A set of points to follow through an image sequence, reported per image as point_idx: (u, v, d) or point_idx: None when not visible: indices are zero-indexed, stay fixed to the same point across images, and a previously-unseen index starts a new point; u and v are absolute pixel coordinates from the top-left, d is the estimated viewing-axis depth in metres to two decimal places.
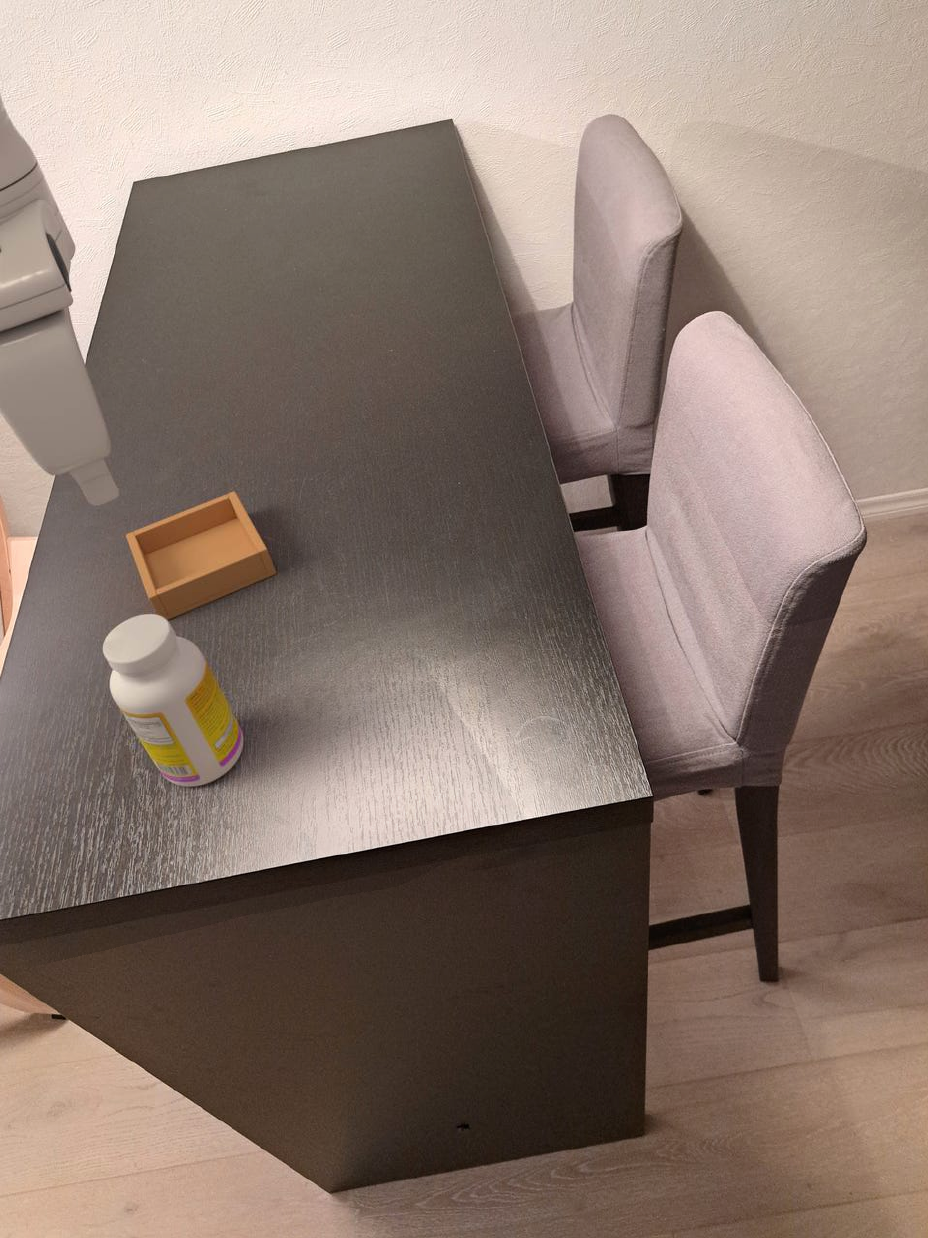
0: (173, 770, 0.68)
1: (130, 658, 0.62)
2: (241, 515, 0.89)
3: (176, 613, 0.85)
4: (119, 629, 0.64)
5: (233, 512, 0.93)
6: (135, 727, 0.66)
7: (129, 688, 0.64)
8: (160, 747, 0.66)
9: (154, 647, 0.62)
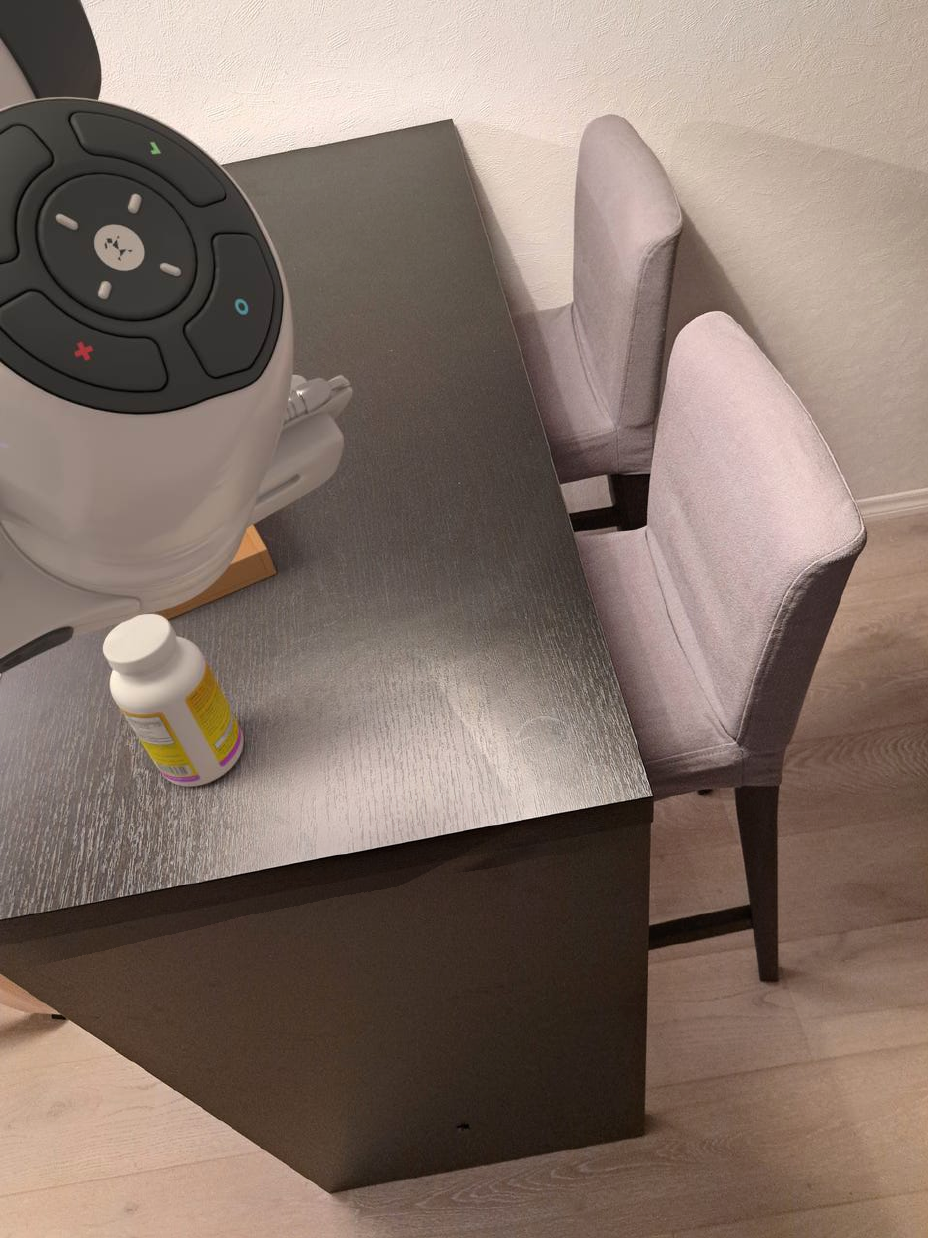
0: (173, 770, 0.68)
1: (130, 658, 0.62)
2: None
3: (176, 613, 0.85)
4: (119, 629, 0.64)
5: None
6: (135, 727, 0.66)
7: (129, 688, 0.64)
8: (160, 747, 0.66)
9: (154, 647, 0.62)
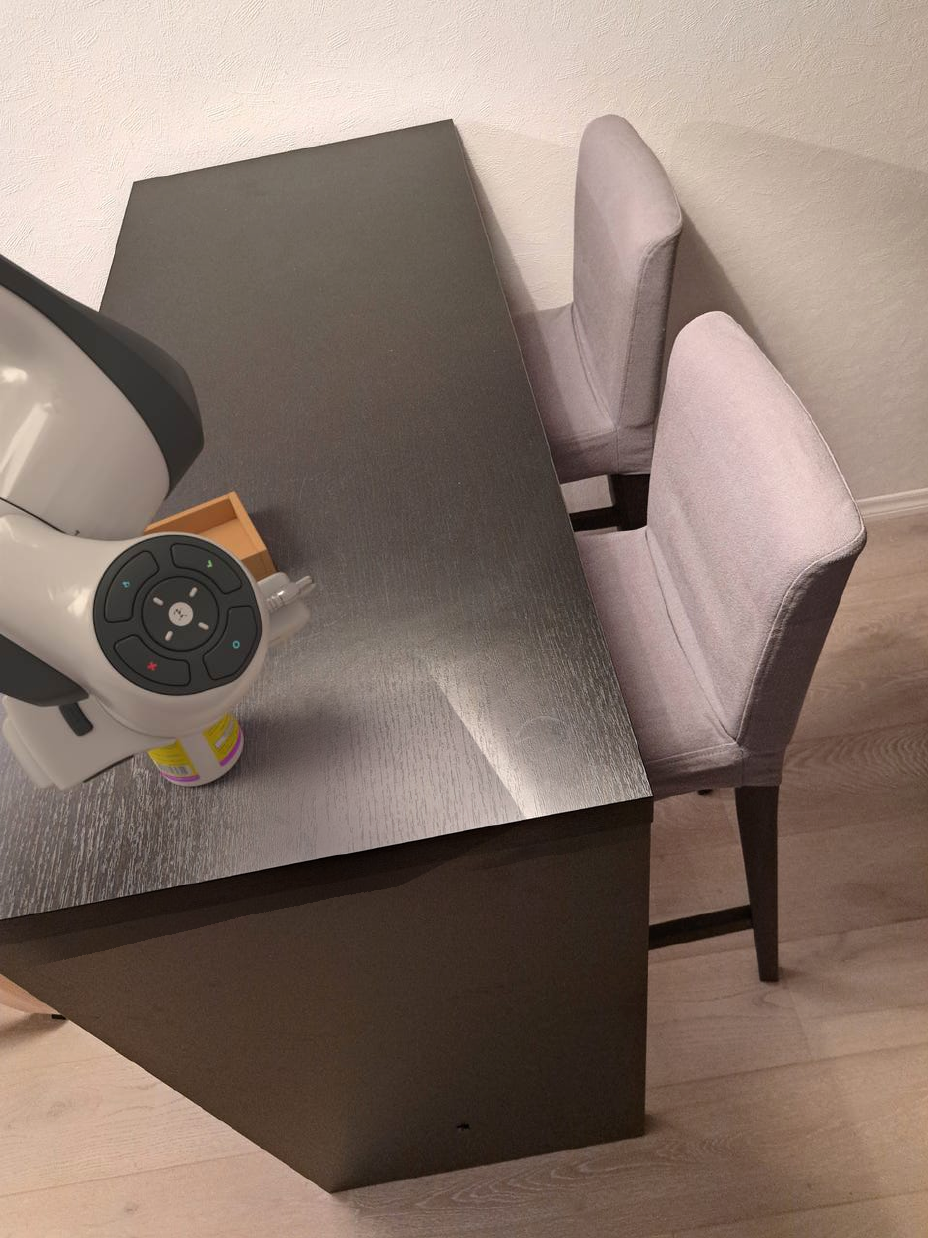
0: (173, 770, 0.68)
1: None
2: (241, 515, 0.89)
3: None
4: None
5: (233, 512, 0.93)
6: None
7: None
8: None
9: None
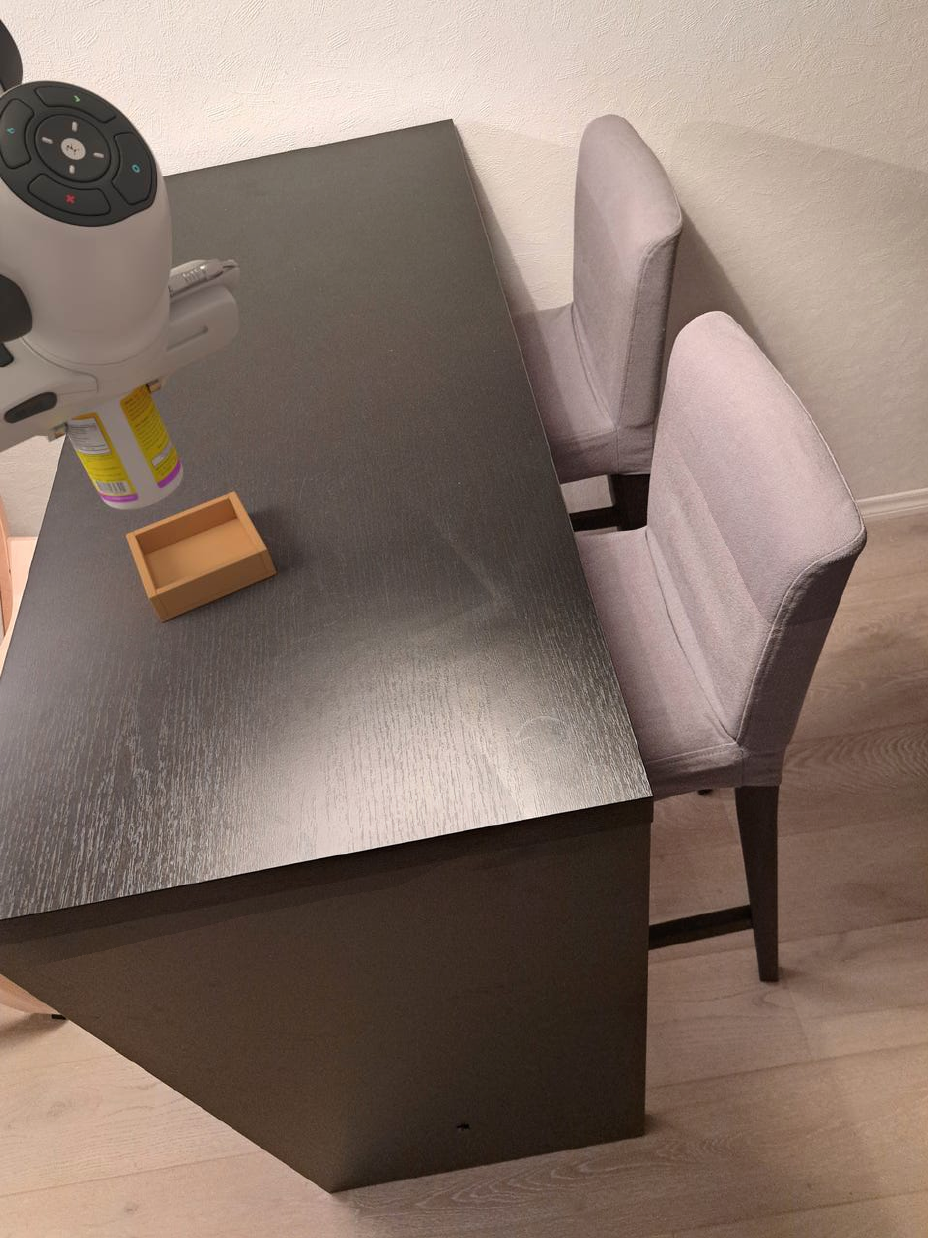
0: (111, 488, 0.70)
1: None
2: (241, 515, 0.89)
3: (176, 613, 0.85)
4: None
5: (233, 512, 0.93)
6: (72, 435, 0.68)
7: None
8: (97, 457, 0.68)
9: None
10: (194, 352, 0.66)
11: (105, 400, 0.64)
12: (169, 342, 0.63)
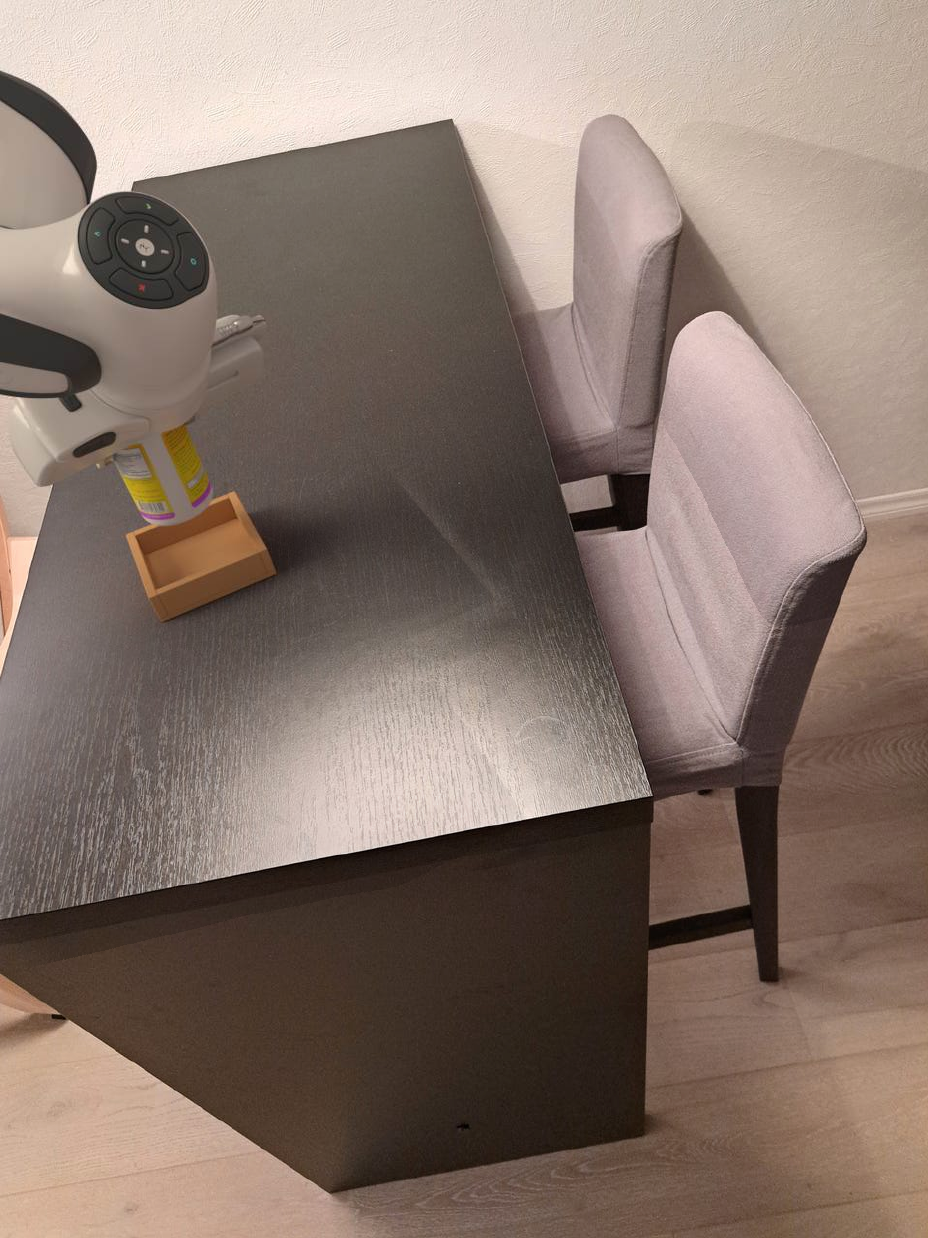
0: (152, 507, 0.81)
1: None
2: (241, 515, 0.89)
3: (176, 613, 0.85)
4: None
5: (233, 512, 0.93)
6: (119, 462, 0.78)
7: None
8: (141, 481, 0.79)
9: None
10: (226, 392, 0.76)
11: (150, 434, 0.75)
12: (206, 385, 0.73)
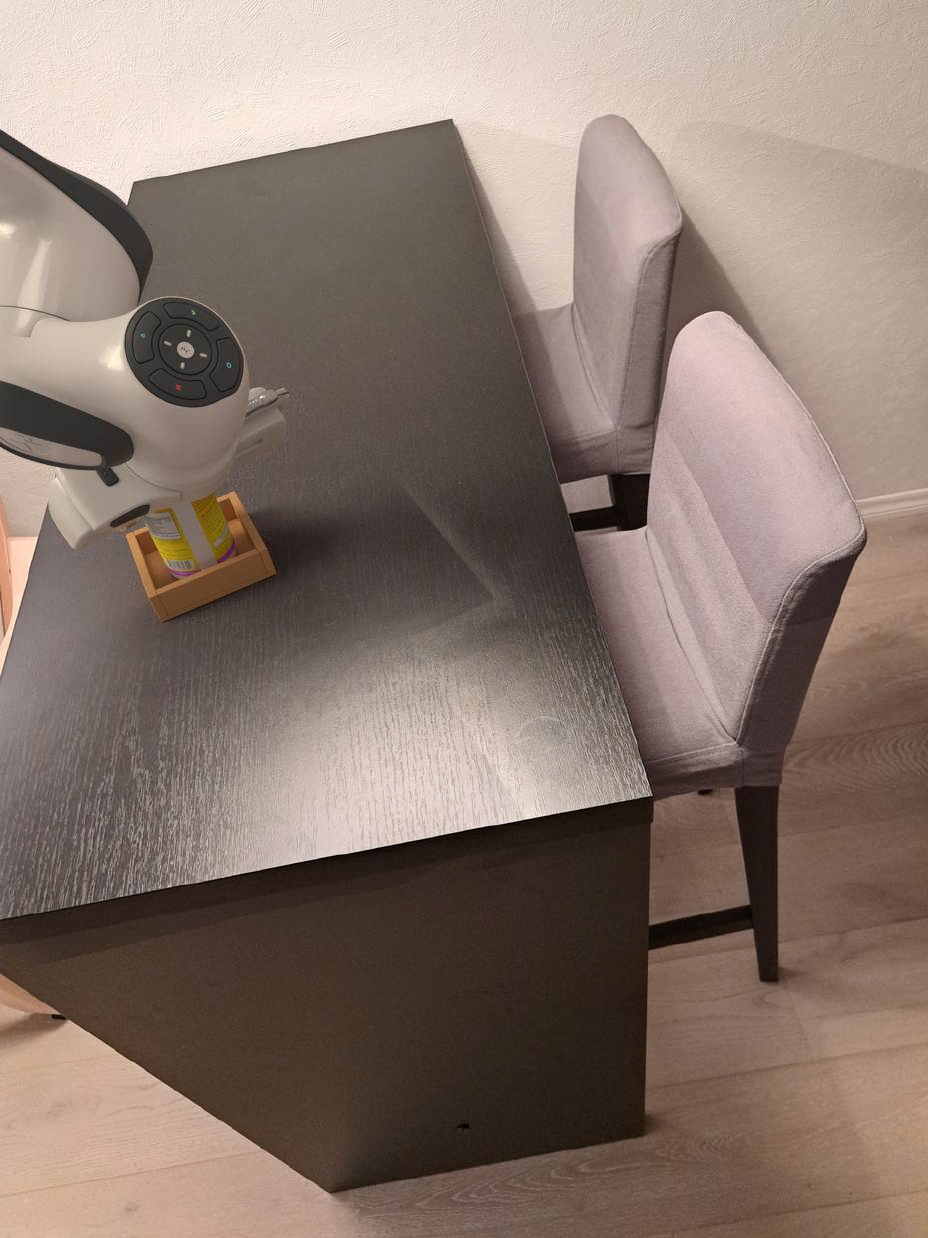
0: (180, 565, 0.85)
1: None
2: (241, 515, 0.89)
3: (176, 613, 0.85)
4: None
5: (233, 512, 0.93)
6: (150, 524, 0.83)
7: None
8: (170, 541, 0.83)
9: None
10: (250, 456, 0.81)
11: None
12: None
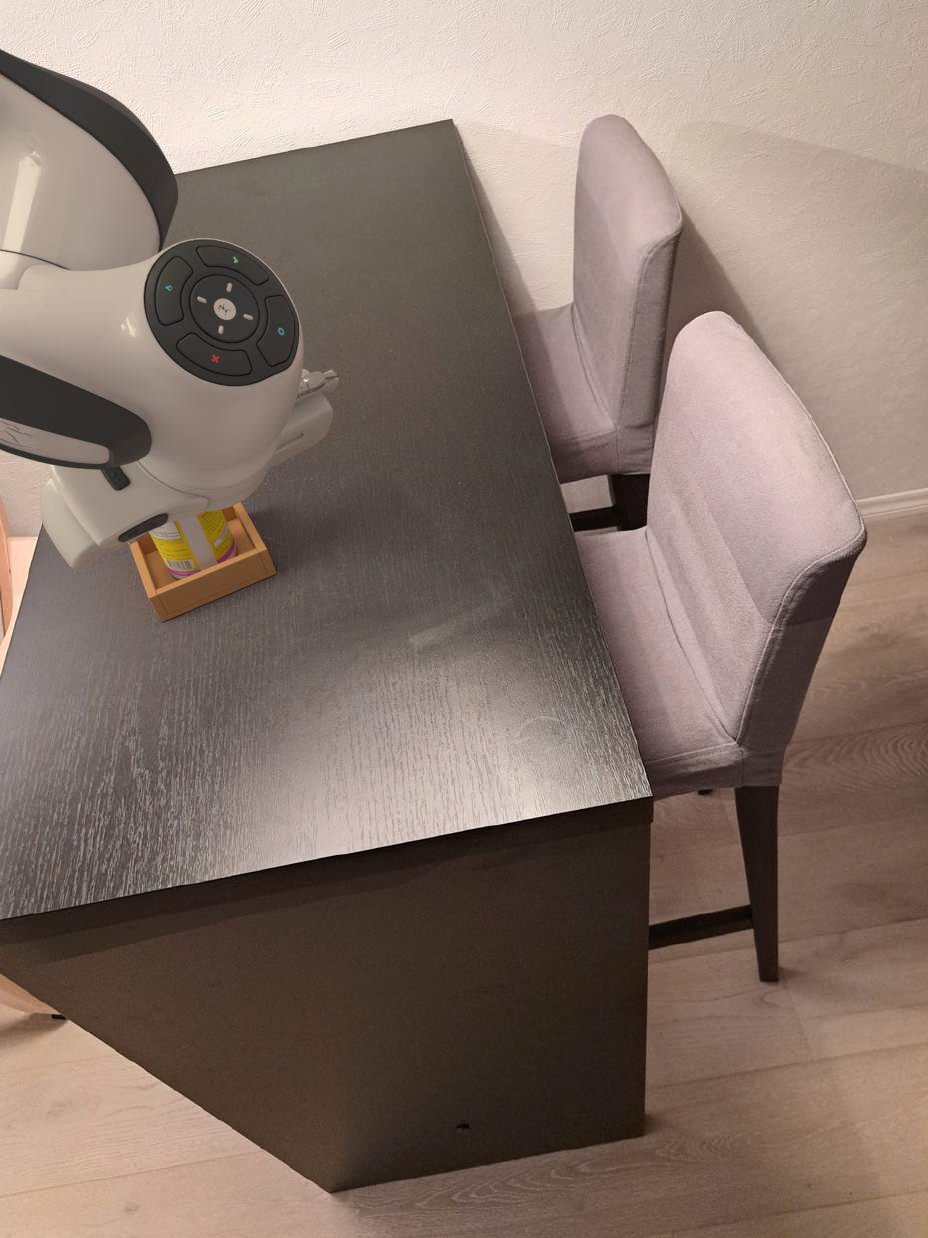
0: (180, 565, 0.85)
1: None
2: (241, 515, 0.89)
3: (176, 613, 0.85)
4: None
5: (233, 512, 0.93)
6: None
7: None
8: (170, 541, 0.83)
9: None
10: (287, 454, 0.66)
11: None
12: None
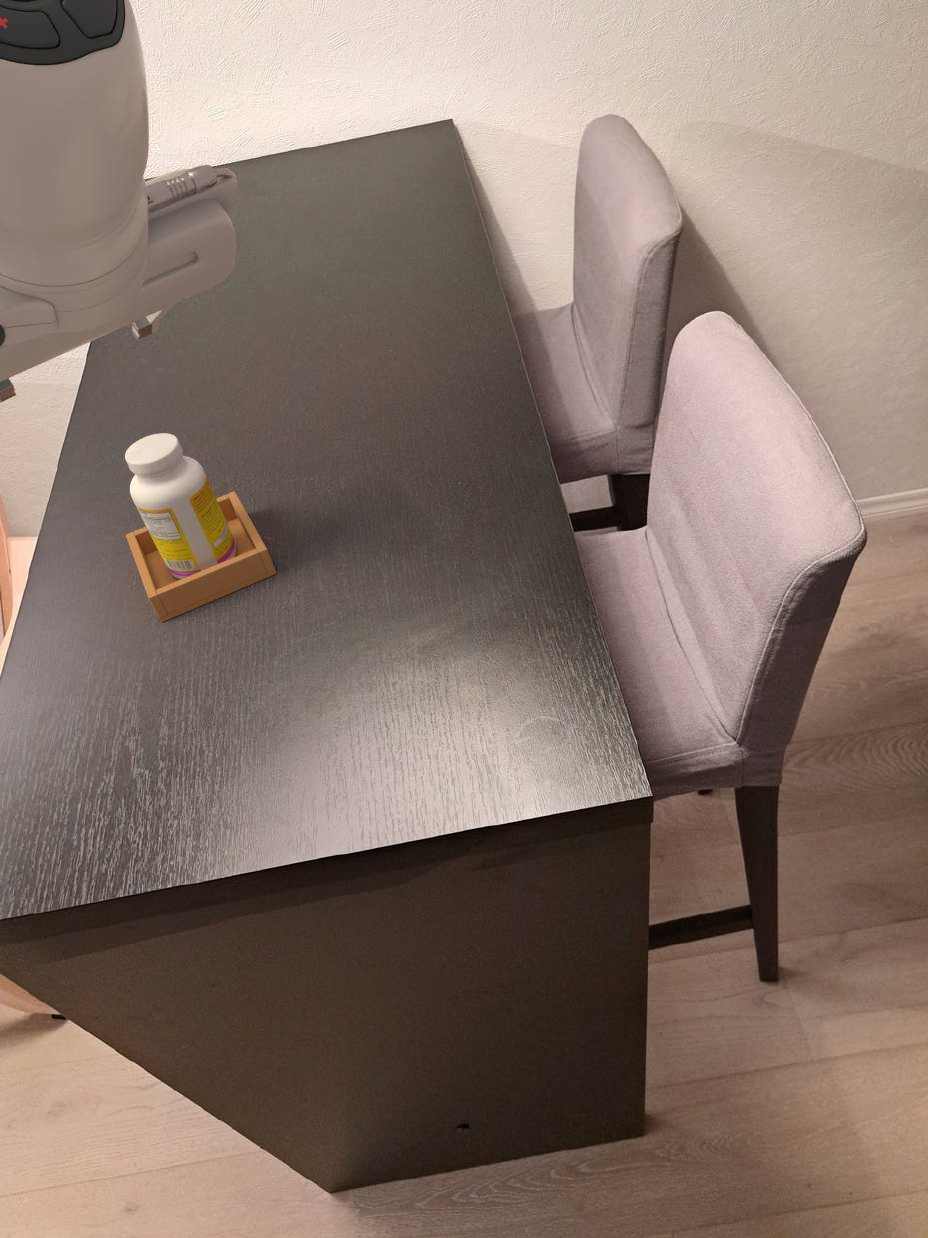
0: (179, 565, 0.85)
1: (146, 460, 0.79)
2: (241, 515, 0.89)
3: (176, 613, 0.85)
4: (137, 443, 0.81)
5: (233, 512, 0.93)
6: (150, 524, 0.83)
7: (145, 488, 0.81)
8: (170, 541, 0.83)
9: (165, 453, 0.79)
10: (182, 288, 0.54)
11: (72, 345, 0.52)
12: (150, 272, 0.51)
